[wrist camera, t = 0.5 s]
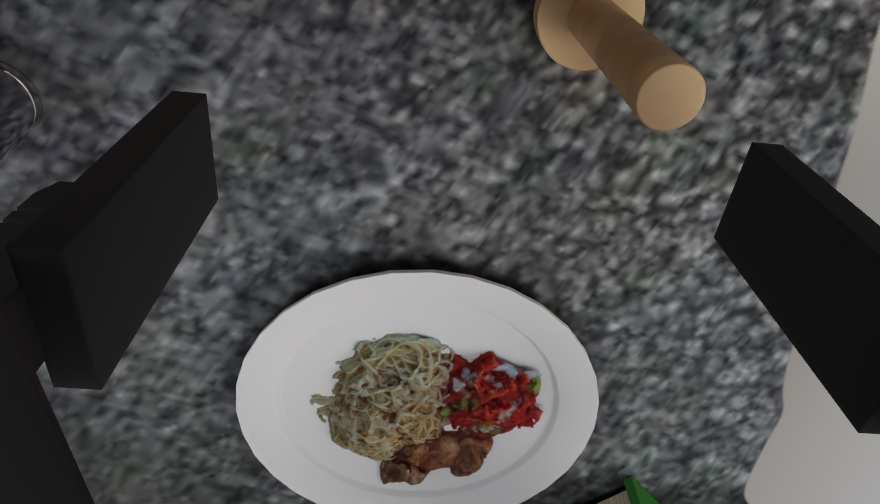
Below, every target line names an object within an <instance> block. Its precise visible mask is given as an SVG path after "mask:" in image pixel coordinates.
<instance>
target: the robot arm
mask: <svg viewBox="0 0 880 504" xmlns="http://www.w3.org/2000/svg"><path fill="white" fill-rule="evenodd" d="M217 200H218V193H217V184H216V176H215V167H214V158H213V149H212V140H211V131H210V123H209V114H208V105H207V96H206V94H202V93H191V92H179V91H172V92H171V93H170V94H168V95H167V96H166V97H165V98H164V99H163V100H162V101H161V102H160V103H159V104H158V105H157V106H156V107H154V108H153V109H152V110H151V111H150V112H149V113H148V114H147V115H146V116H145V117H144V118H143V119H141V120H140V121H139V122H138V123H137V124H136V125H135V126H134V127H133V128H132V129H131V130H130V131H129V132H127V133H126V134H125V135H124V136H123V137H122V138H121V139H120V140H119V141H118V142H117V143H116V144H115V145H113V146H112V147H111V148H110V149H109V150H108V151H107V152H106V153H105V154H104V155H103V156H102V157H101V158H99V159H98V160H97V161H96V162H95V163H94V164H93V165H92V166H91V167H90V168H89V169H88V170H86V171H85V172H84V173H83V174H82V175H81V176H80V177H79V178H78V179H77V180H76V181H75V182H62V181H60V182H57V183H55V184H53V185H51V186H49V187H46V188H44V189H42V190H40V191H38V192H35V193H34V194H32V195H31V196H30V197H29V198H28V199H27V200H25V201H24V202H23V203H22V204H21V205H20V206H19V207H17V211H13V212H12V213H10V214H9V215H8V216H7V217H6V218H5V219H3V223H0V504H94V502H93V499H92V497H91V495H90V493H89V490H88V488H87V486H86V484H85V482H84V479H83V477H82V475H81V473H80V470H79V468H78V466H77V464H76V461H75V459H74V457H73V455H72V452H71V450H70V448H69V446H68V443H67V441H66V439H65V437H64V435H63V432H62V430H61V428H60V426H59V423H58V421H57V419H56V417H55V414H54V412H53V410H52V408H51V405H50V403H49V401H48V399H47V396H46V394H45V392H44V390H43V388H42V385H41V383H40V381H39V379H38V376H37V374H36V371H37V370H38V369H39V367H40V366H41V365H42V363H43V362H44V361H45V363H46V366H47V369H48V372H49V375H50V378H51V381H52V384H53V386H54V387H63V388H81V389H99V390H102V389H103V387H104V385H105V384H106V382H107V380H108V379H109V377H110V375H111V374H112V372H113V371H114V369H115V367H116V366H117V364H118V362H119V361H120V359H121V357H122V356H123V354H124V352H125V351H126V349H127V348H128V346H129V344H130V343H131V341H132V339H133V338H134V336H135V334H136V333H137V331H138V330H139V328H140V326H141V325H142V323H143V321H144V320H145V318H146V316H147V315H148V313H149V311H150V310H151V308H152V307H153V305H154V303H155V302H156V300H157V298H158V297H159V295H160V293H161V292H162V290H163V289H164V287H165V285H166V284H167V282H168V280H169V279H170V277H171V275H172V274H173V272H174V270H175V269H176V267H177V266H178V264H179V262H180V261H181V259H182V257H183V256H184V254H185V252H186V251H187V249H188V248H189V246H190V244H191V243H192V241H193V239H194V238H195V236H196V234H197V233H198V231H199V229H200V228H201V226H202V225H203V223H204V221H205V220H206V218H207V216H208V215H209V213H210V211H211V210H212V208H213V207H214V205H215V203H216V202H217ZM714 238H715V240H716V241H717V242H718V244H719V245H720V246H721V248H722V249H723V251H724V252H725V253H726V255H727V256H728V257H729V259H730V260H731V261H732V263H733V264H734V265H735V267H736V268H737V269H738V271H739V272H740V274H741V275H742V276H743V278H744V279H745V280H746V282H747V283H748V284H749V286H750V287H751V288H752V290H753V291H754V292H755V294H756V295H757V297H758V298H759V299H760V301H761V302H762V303H763V305H764V306H765V307H766V309H767V310H768V311H769V313H770V314H771V315H772V317H773V318H774V320H775V321H776V322H777V324H778V325H779V326H780V328H781V329H782V330H783V332H784V333H785V334H786V336H787V337H788V338H789V340H790V341H791V343H792V344H793V345H794V346H795V348H796V349H797V351H798V352H799V353H800V355H801V356H802V357H803V359H804V360H805V361H806V363H807V364H808V365H809V367H810V368H811V370H812V371H813V372H814V373H815V375H816V376H817V378H818V379H819V380H820V382H821V383H822V384H823V386H824V387H825V388H826V390H827V391H828V393H829V394H830V395H831V396H832V398H833V399H834V401H835V402H836V403H837V405H838V406H839V407H840V409H841V410H842V411H843V413H844V414H845V416H846V417H847V418H848V419H849V421H850V422H851V424H852V425H853V426H854V428H855V429H856V430H857V432H858V433H872V434H880V226H879V225H878V224H877V223H875V222H874V221H873V220H872V219H871V218H870V217H868V216H867V215H866V214H865V213H864V212H862V211H861V210H860V209H859V208H858V207H856V206H855V205H854V204H853V203H852V202H850V201H849V200H848V199H847V198H845V197H844V196H843V195H842V194H841V193H839V192H838V191H837V190H836V189H835V188H833V187H832V186H831V185H830V184H829V183H827V182H826V181H825V180H824V179H823V178H821V177H820V176H819V175H818V174H817V173H815V172H814V171H813V170H812V169H810V168H809V167H808V166H807V165H806V164H804V163H803V162H802V161H801V160H800V159H798V158H797V157H796V156H795V155H794V154H792V153H791V152H790V151H789V150H788V149H786V148H785V147H784V146H783V145H778V144H766V143H755V142H752V144H751V146H750V149H749V151H748V154H747V156H746V159H745V161H744V164H743V166H742V169H741V171H740V174H739V176H738V179H737V181H736V184H735V186H734V188H733V191H732V193H731V196H730V198H729V201H728V203H727V206H726V208H725V211H724V213H723V216H722V218H721V221H720V223H719V226H718V228H717V231H716V233H715V236H714Z"/></svg>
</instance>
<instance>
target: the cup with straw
mask: <svg viewBox="0 0 880 504" xmlns="http://www.w3.org/2000/svg"><path fill="white" fill-rule="evenodd" d="M41 115H42V103H41V99H40V96H39V94H38V92H37V90H36V88H35V87H34V85H33V84H32V83H31V82H30V80H29V79H28V78H27V77H25V76H24V75H23V74H22V73H21V72H19V71H18V70H16V69H15V68H13V67H11V66H9V65H7V64H4V63H1V62H0V162H1V161H2V160H3V159H4V158H5V157H6V156H7V155H8V154H9V153H10V152H11V151H12V150H13V149H14V148H15V147H16V146H17V145H18V144H19V143H20V142H21V140H22V139H23V138H24V137H25V136H26V135H27V134H28V133H29V132H30V130H31V129H32V128H33V127H35V126H36V125H37V124H38V122H39V120H40V118H41Z"/></svg>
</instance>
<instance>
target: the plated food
mask: <svg viewBox="0 0 880 504" xmlns="http://www.w3.org/2000/svg"><path fill="white" fill-rule="evenodd" d="M598 406H599V398H598V388H597V378H596V375H595V372H594V370H593V367H592V365H591V362H590V360H589V357H588V355H587V352H586V350H585V348H584V347H583V346H582V344H581V343H580V342H579V340H578V339H577V338H576V336H575V335H574V334H573V332H572V331H571V330H570V328H569V327H568V326H567V325H566V324H565V323H564V322H563V321H561V320H560V319H559V318H558V317H557V316H555V315H554V314H553V313H552V312H551V311H550V310H548V309H547V308H546V307H545V306H544V305H542V304H540V303H539V302H537V301H535V300H533V299H531V298H529V297H527V296H526V295H524V294H522V293H520V292H518V291H516V290H514V289H513V288H511V287H508V286H505V285H502V284H499V283H495V282H492V281H489V280H486V279H483V278H480V277H477V276H474V275H468V274H461V273H454V272H447V271H440V270H433V269H428V270H389V271H384V272H378V273H373V274H367V275H362V276H356V277H351V278H348V279H346V280H343V281H340V282H337V283H335V284H332V285H329V286H327V287H324V288H321V289H318V290H316V291H314V292H312V293H310V294H309V295H307V296H305V297H304V298H302V299H300V300H299V301H297V302H295V303H294V304H292V305H291V306H289V307H287V308H286V309H284V310H283V311H282V312H281V313H280V314H279V315H278V316H277V317H276V318H274V319H273V320H272V321H271V322H270V323H269V324H268V325H267V326H266V327H265V328H264V329H263V330H262V331H261V332H260V333H259V335H258V337H257V338H256V340H255V341H254V343H253V344H252V346H251V348H250V349H249V351H248V352H247V354H246V355H245V358H244V361H243V364H242V367H241V371H240V374H239V377H238V381H237V384H236V412H237V416H238V419H239V423H240V426H241V430H242V433H243V436H244V437H245V439H246V441H247V443H248V444H249V446H250V448H251V449H252V451H253V453H254V455H255V456H256V458H257V459H258V460H259V461H260V462H261V463H262V464H263V465H264V466H265V467H266V468H267V470H268V471H269V472H270V473H271V474H272V475H273V476H274V477H275V478H277V479H278V480H279V481H281V482H282V483H283V484H285V485H286V486H287V487H289V488H290V489H291V490H293V491H294V492H295V493H297V494H299V495H301V496H303V497H305V498H307V499H309V500H311V501H312V502H314V503H316V504H519V503H522V502H524V501H526V500H527V499H529V498H531V497H532V496H534V495H536V494H537V493H539V492H541V491H542V490H544V489H546V488H547V487H549V486H550V485H551V484H552V483H553V482H554V481H556V480H557V479H558V478H559V477H560V476H562V475H563V474H564V473H565V472H566V471H567V470H568V469H569V468H570V467H571V466H572V464H573V463H574V462H575V460H576V459H577V458H578V457H579V455H580V454H581V453H582V452H583V450H584V449H585V446H586V444H587V442H588V440H589V438H590V436H591V434H592V432H593V430H594V427H595V422H596V417H597V411H598Z"/></svg>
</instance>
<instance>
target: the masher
mask: <svg viewBox="0 0 880 504" xmlns="http://www.w3.org/2000/svg"><path fill="white" fill-rule="evenodd" d="M644 14H645V0H536V1H535V5H534V15H533V20H534V27H535V31H536V34H537V37H538V39H539V41H540V43H541V44H542V46H543V48H544V49H545V51H546V52H547V54H548V55H549V56H550V57H551V58H552V59H553V60H554V61H556V62H557V63H558V64H560V65H562V66H564V67H566V68H569V69H573V70H579V71H588V70H594V69H599V68H600V70H601V71H602V72H603V74H604V75H605V76H606V77H607V79H608V80H609V81H610V82H611V84H612V85H613V86H614V87H615V89H616V90H617V91H618V93H619V94H620V95H621V96H622V98H623V99H624V100H625V101H626V103H627V104H628V105H629V106H630V108H631V109H632V110H633V112H634V113H635V114H636V115H637V117H638V118H639V119H640V120H641V122H642V123H643V124H644V125H646V126H647V127H649V128H651V129H654V130H658V131H669V130H674V129H677V128H679V127H682V126H683V125H685V124H687V123H688V122H689V121H691V120H692V119H693V118H694V117H695V116H696V115H697V113H698V112H699V111H700V109H701V107H702V105H703V103H704V99H705V94H706V86H705V81H704V79H703V77H702V75H701V74H700V72H699V71H698V70H697V69H695V68H694V67H693V66H692V65H690V64H689V63H688V62H687V61H686V60H684V59H683V58H682V57H681V56H679V55H678V54H677V53H676V52H674V51H673V50H672V49H671V48H669V47H668V46H667V45H666V44H665V43H663V42H662V41H661V40H660V39H658V38H657V37H656V36H655V35H653V34H652V33H651V32H650V31H648V30H647V29H646V28H645V27H644V26H642V24H643V20H644Z"/></svg>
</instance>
